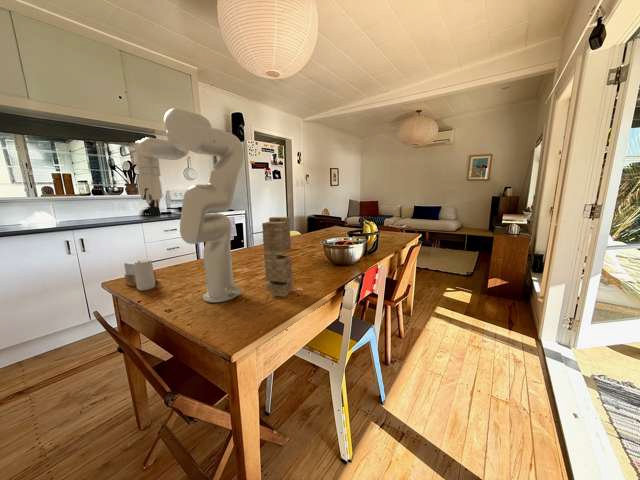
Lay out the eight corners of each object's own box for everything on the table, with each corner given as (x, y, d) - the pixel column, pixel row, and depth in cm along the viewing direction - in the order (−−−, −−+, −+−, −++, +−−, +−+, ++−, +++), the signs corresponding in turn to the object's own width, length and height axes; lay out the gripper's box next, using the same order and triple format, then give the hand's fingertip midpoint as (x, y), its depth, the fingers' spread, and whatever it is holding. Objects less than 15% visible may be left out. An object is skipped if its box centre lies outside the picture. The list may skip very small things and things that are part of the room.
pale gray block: (152, 270, 114) (151, 260, 113) (137, 275, 108) (135, 264, 107) (141, 269, 116) (140, 259, 115) (125, 274, 110) (124, 263, 109)
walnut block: (156, 280, 116) (155, 270, 115) (139, 287, 108) (137, 275, 107) (143, 279, 118) (142, 269, 117) (126, 285, 111) (124, 274, 110)
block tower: (265, 296, 95) (260, 218, 90) (275, 287, 103) (271, 216, 98) (284, 298, 93) (281, 219, 88) (293, 289, 101) (290, 216, 96)
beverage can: (134, 289, 105) (129, 261, 102) (150, 284, 110) (146, 258, 108) (142, 292, 102) (138, 263, 99) (159, 287, 107) (155, 259, 105)
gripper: (147, 173, 112) (153, 215, 116) (130, 170, 98) (137, 218, 101) (166, 173, 114) (171, 214, 117) (151, 171, 99) (158, 217, 103)
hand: (155, 216), depth 109 cm, fingers closed
